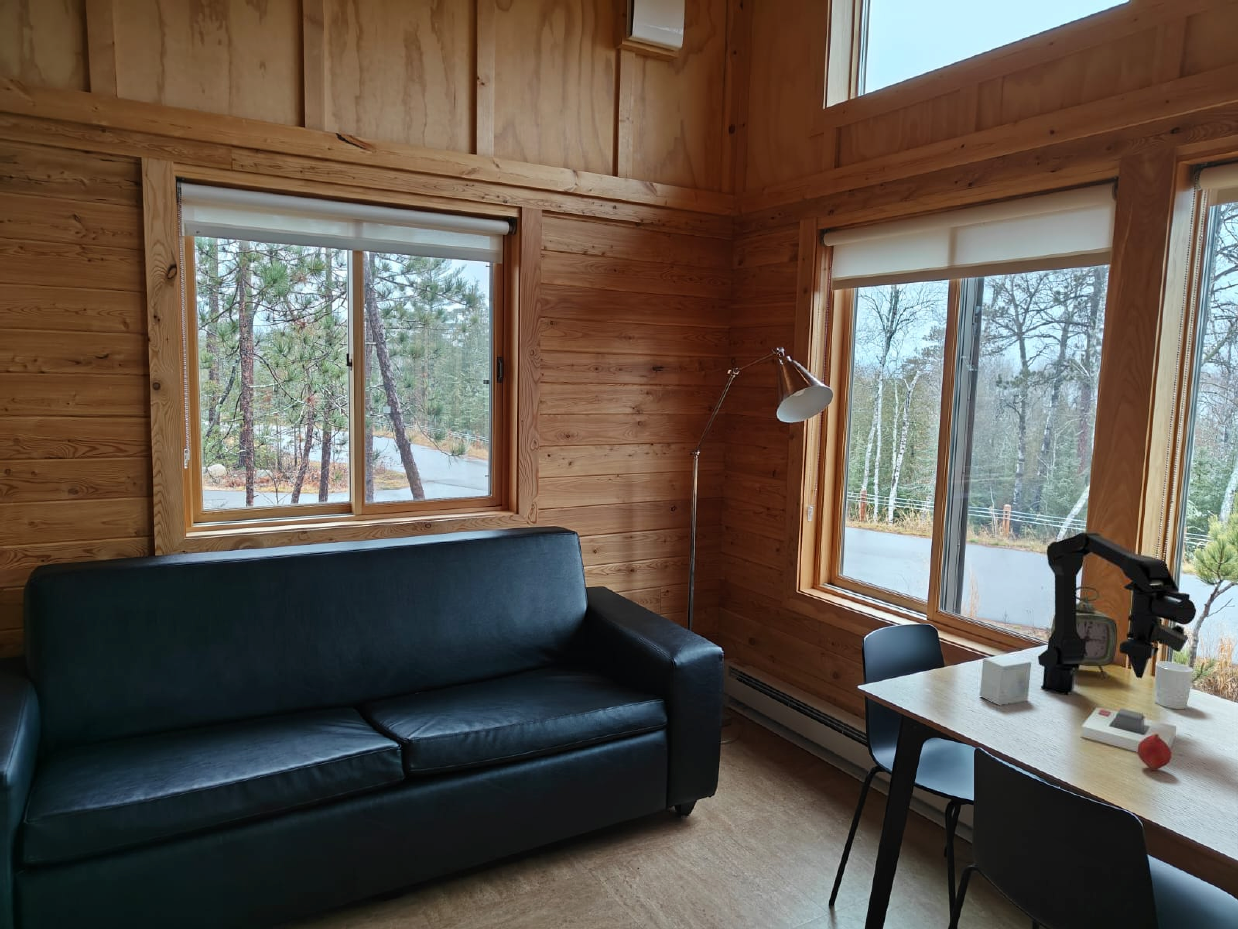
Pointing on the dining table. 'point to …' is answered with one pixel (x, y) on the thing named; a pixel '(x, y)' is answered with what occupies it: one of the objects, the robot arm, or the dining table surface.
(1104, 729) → the socket plate
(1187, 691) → the white cup
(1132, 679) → the dining table surface
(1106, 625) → the tabletop clock
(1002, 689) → the skincare box
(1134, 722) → the plug
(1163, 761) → the onion
